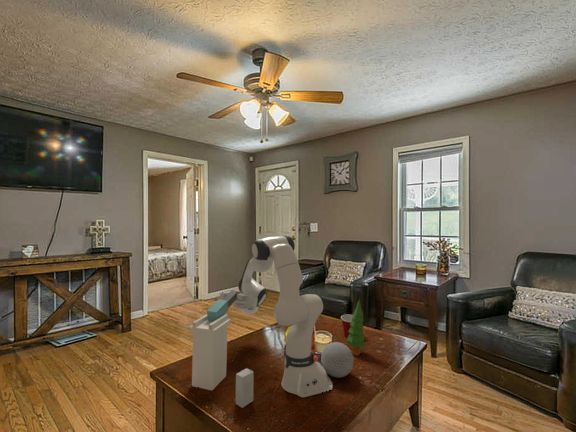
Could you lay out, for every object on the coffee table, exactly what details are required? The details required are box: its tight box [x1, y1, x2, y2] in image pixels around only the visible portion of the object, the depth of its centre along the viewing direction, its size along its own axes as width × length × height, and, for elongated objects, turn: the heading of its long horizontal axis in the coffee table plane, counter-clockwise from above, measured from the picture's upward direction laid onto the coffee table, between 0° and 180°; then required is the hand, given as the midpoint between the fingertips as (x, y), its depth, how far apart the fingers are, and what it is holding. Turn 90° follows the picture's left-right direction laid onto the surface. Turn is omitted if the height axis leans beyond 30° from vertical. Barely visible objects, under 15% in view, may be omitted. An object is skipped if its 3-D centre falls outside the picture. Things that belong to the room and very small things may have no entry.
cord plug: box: [206, 290, 239, 321], centre depth 143 cm, size 22×5×5 cm, turn 162°
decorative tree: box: [346, 298, 365, 355], centre depth 163 cm, size 10×9×30 cm
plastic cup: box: [340, 314, 354, 339], centre depth 184 cm, size 11×11×12 cm
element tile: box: [284, 325, 292, 342], centre depth 181 cm, size 15×15×5 cm
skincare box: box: [235, 367, 255, 409], centre depth 117 cm, size 6×4×12 cm
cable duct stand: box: [189, 313, 232, 391], centre depth 132 cm, size 14×12×28 cm
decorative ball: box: [320, 341, 355, 379], centre depth 139 cm, size 15×15×15 cm
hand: (232, 294), depth 151 cm, fingers closed on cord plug, 3 cm apart
